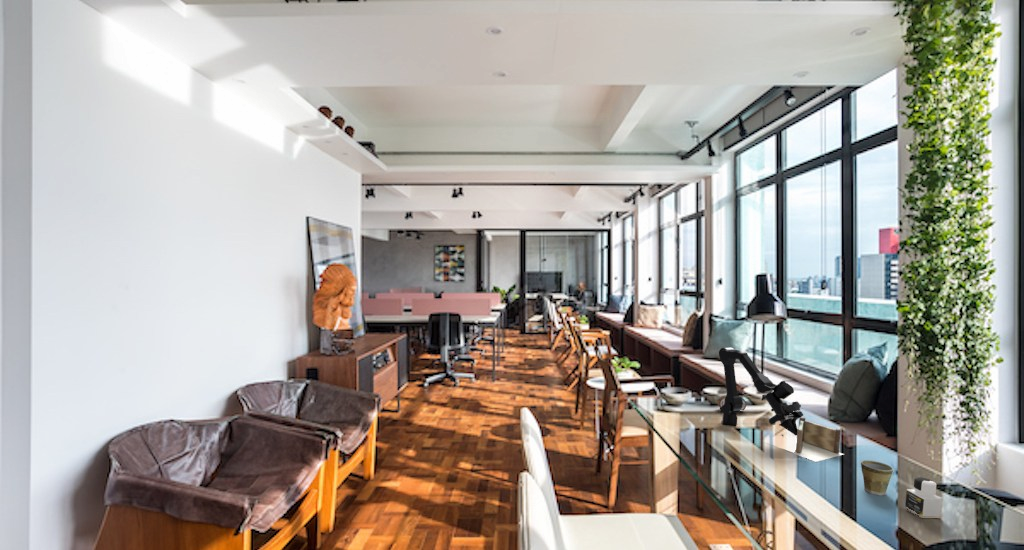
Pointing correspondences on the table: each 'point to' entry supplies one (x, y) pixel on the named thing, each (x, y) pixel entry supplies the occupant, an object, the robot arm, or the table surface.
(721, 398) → the tin
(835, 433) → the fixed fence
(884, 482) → the ceramic cup
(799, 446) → the folding panel
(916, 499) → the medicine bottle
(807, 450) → the card
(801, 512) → the table surface
